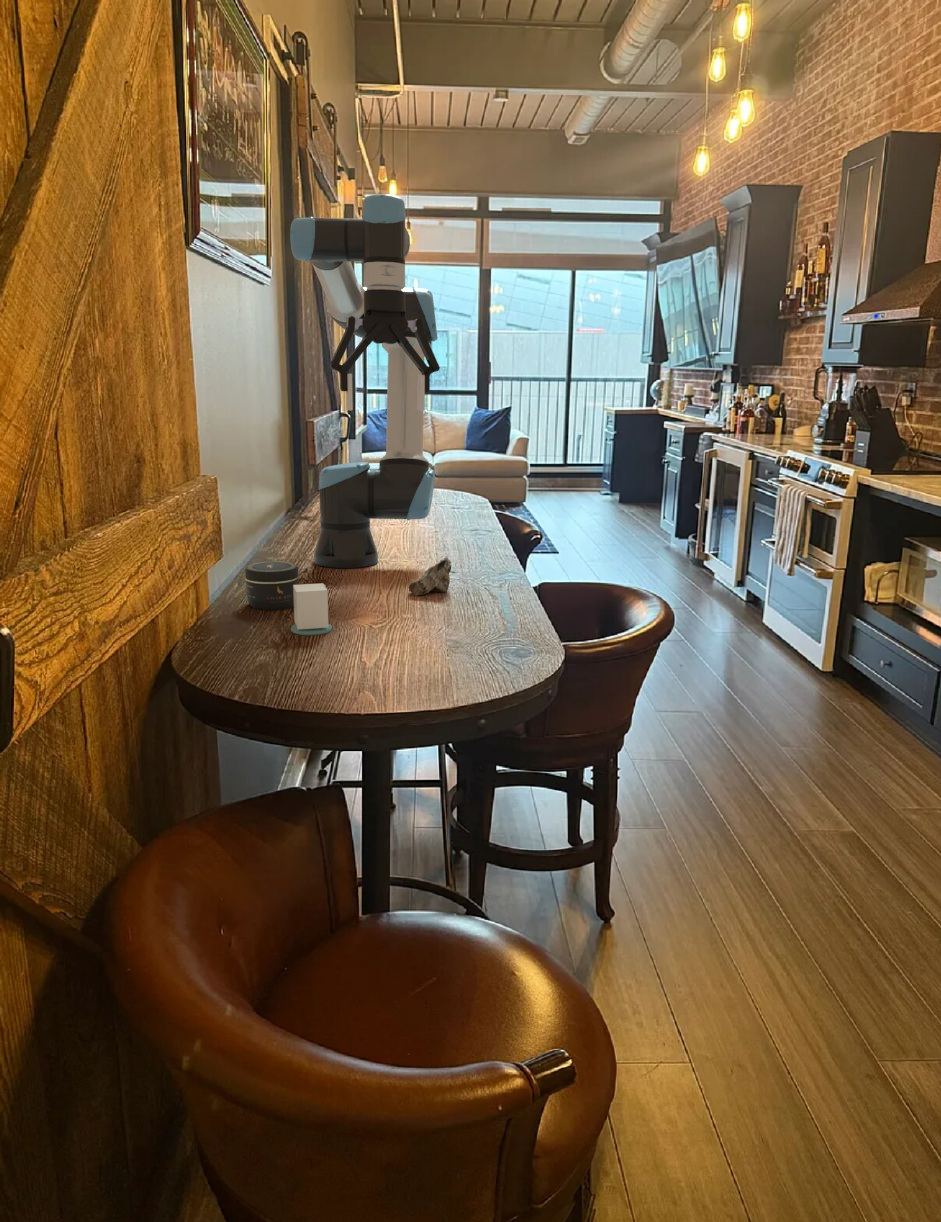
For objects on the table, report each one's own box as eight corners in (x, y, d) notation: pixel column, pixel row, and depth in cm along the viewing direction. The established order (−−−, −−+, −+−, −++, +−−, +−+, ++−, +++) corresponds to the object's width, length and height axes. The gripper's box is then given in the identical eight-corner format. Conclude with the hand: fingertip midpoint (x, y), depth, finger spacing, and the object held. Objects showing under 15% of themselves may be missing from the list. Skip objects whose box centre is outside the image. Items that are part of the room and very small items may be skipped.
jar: (256, 614, 158) (254, 573, 156) (239, 602, 167) (237, 563, 165) (307, 607, 164) (306, 568, 162) (288, 596, 172) (287, 558, 170)
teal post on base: (289, 625, 151) (287, 587, 149) (328, 622, 153) (327, 585, 151) (293, 636, 145) (291, 596, 143) (334, 633, 147) (333, 594, 145)
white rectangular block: (294, 621, 150) (293, 584, 149) (324, 619, 152) (323, 583, 150) (297, 629, 146) (296, 591, 144) (328, 627, 147) (327, 590, 145)
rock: (441, 594, 169) (463, 557, 174) (409, 578, 169) (431, 541, 174) (434, 615, 177) (455, 579, 182) (403, 599, 177) (425, 563, 182)
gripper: (317, 284, 147) (321, 410, 153) (456, 291, 155) (455, 411, 160) (312, 288, 154) (315, 409, 160) (445, 294, 162) (444, 410, 167)
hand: (385, 410), depth 160 cm, fingers open, 13 cm apart
